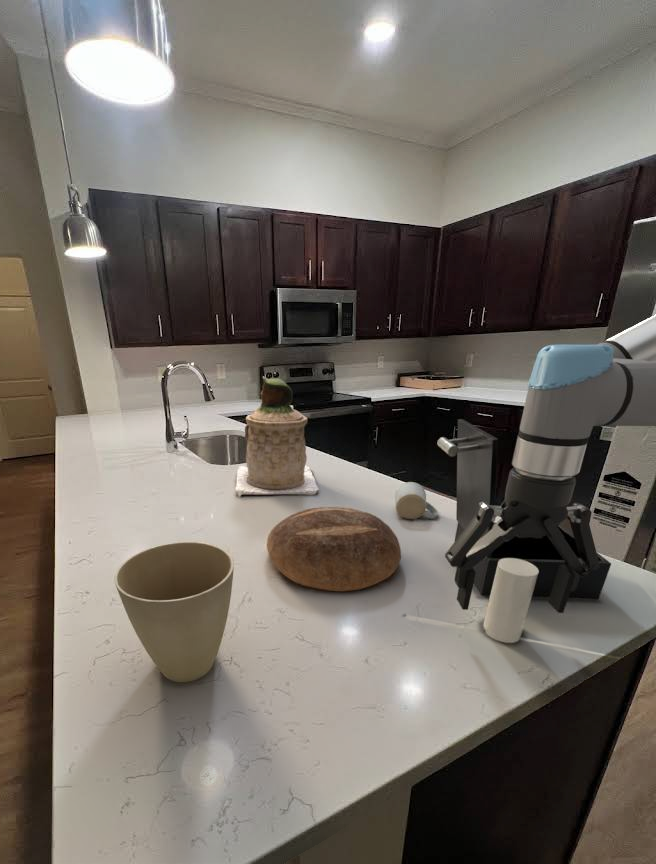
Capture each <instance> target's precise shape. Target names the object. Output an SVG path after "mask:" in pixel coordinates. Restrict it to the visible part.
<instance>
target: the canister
mask: <svg viewBox="0 0 656 864" xmlns="http://www.w3.org/2000/svg"><path fill="white" fill-rule="evenodd" d="M538 573H539V570H538V568H537V567H536V566H534V565H533V564H531V563H529V562H527V561H524V560H521V559H516V558H503V559H501V560H499V561H498V564H497V569H496V573H495V577H494V581H493V586H492V590H491V594H490V596H489V600H488V604H487V607H486V611H485V616H484V620H483V623H482V624H483V625H482V626H483V632H484V633H485V634H486V635H487V636H488V637H490V638H492V639H493V640H496V641H498V642H501V643H506V644H513V643H514V644H515V643H517V642H519V641H520V639H521V637H522V633H523V629H524V626H525V622H526V620H527V619H526V618H527V615H528V611H529V608H530V606H531V601H532V598H533V597H532V595H533V591H534V587H535V584H536V580H537V577H538Z"/></svg>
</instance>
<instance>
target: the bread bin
mask: <svg viewBox="0 0 656 864" xmlns="http://www.w3.org/2000/svg"><path fill="white" fill-rule="evenodd" d="M495 523H497V521H496V522H495V521H494V524H495ZM557 527H558V528H559V530H560V531H561V533H562V534H563V536H564V539H565V540H566V541H567V543H568V544H569V546H570V547H571V549H572V550H573V552H574V553H575V555H576V556H577V558H580V557H579V554H578V550H577V546H576V543H575V539H574V535H573V532H572V531H569V529H567V528H565V527H564V526H562V525H561V523H560V524H559V525H558V526H557ZM463 530H464V529H463V527H462V526H461V525H460V524H459V522H458V521H457V525H456V531H455V536H454V542H455V541H456V540H457V538H458V537H459V536H460V534H461V533H462V532H463ZM507 530H508V528H507V527H505V528H504V531H507ZM454 542H453V543H454ZM597 556H598V560H599V564H600V567H599V568H598V569H597V570H591V569H588V570H587V571H588V575H586V576H585V577H581V576H580V578H579V581H578V584H577V587H576V589H575V590H574V591H570V594H569V597H568V599H580V600H581V599H583V600H584V599H585V600H599V599H600V596H601V594H602V591H603V589H604V585H605V583H606V580H607V577H608V574H609V571H610V568H611V566H612V563H611V562H610V561H609V560H607V559H606V558H605V557H603V555H601V554H600V553H598V552H597ZM503 558H516V559H521V560H524V561H527V562H529V563H531V564H533V565H534V566H536V567H537V568H538V570H539V573H538V577H537V580H536V584H535V587H534V591H533V595H532V598H546V599H547V598H548V599H549V597H550V594H551V591H552V587H553V584H554V581H555V578H556V574H557V571H558V568H559V565H565V566H566V567H567V564H566V563H565V561H564V560H563V558H562V557H561V555H560V554H559V553H558V551H557V550H556V548H555V547H554V545H553V544H552V542H551V541H550V540H549V538H548V537H547V535H546V536H543V537H542V538H533V537H527V538H518V537H517V536H515V537H514V538H513V539H511V540H510V541H506V542H504V543H503V544H501V545H500V546H499V547H498V548H496V549H495V550H494V551H493V552H492V558H487V557H485V558H484V559H483V560H481V561H480V562H479V563H478V564H476V565H475V566H474V567H473V569H474V571H475V572H476V574H475V578H474V583H473V586H474V587H475V589H476V590H477V591H478V593H479V595H480V596H486V597H487V596H489V597H490V594H491V590H492V586H493V581H494V577H495V573H496V569H497V564H498V561H499V560H501V559H503Z"/></svg>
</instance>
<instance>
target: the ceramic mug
mask: <svg viewBox="0 0 656 864" xmlns="http://www.w3.org/2000/svg"><path fill="white" fill-rule="evenodd" d="M394 502H395V510H396V512H397V514H398V515H399V516H400V517H401V518H403V519H406V520H414V519H415V520H417V519H419V518H421V517H422V516H423V517H425V518H427V519H429V520H434V519H436V518H437V517H438V515H439V511H438V509H437V508H436V507H435V506H434V505H432V504H431V503H429V502H428V501H427V494H426V490H425V488H424V487H423V486H422V485H421V484H419V483H417V482H415V481H414V482H413V481H408V482H407V481H406V482H403V483H401V484H400V485H399V486H398V487H397V489H396V490H395V493H394Z"/></svg>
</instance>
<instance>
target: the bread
mask: <svg viewBox="0 0 656 864" xmlns="http://www.w3.org/2000/svg"><path fill="white" fill-rule="evenodd" d="M266 549H267V553H268V556H269V559H270V561H271V563H272V565H273V567H275V568H276V569H277V570H278V571H279V572H280V573H281V574H282V575H284V576H285V577H286V578H287V579H288V580H290V581H292V582H294V583H296V584H298V585H301V586H304V587H308V588H312V589H318V590H323V591H331V592H349V591H358V590H361V589H366V588H368V587H372V586H374V585H376V584H379V583H381V582H383V581H384V580H386V579H388V578H389V577H391V576H392V574H394V573H395V572H396V570H397V568H398V566H399V564H400V561H401V559H402V554H401V553H402V552H401V551H402V550H401V544H400V542H399V539H398V537H397V535H396V534H395V532H394V531H393V530H392V528H391V527H390V525H388V524H387V523H386V522H384V521H383V520H382V519H381V518H379V517H377V516H376V515H374V514H372V513H370V512H366V511H364V510H359V509H356V508H355V509H354V508H349V507H338V506H337V507H335V506H325V507H321V506H320V507H314V508H308V509H304V510H300V511H298V512H296V513H293V514H291V515H289V516H287V517H286V518H283V519H282V520H281V521H279V522H278V523H277V524H276V525H275V526H274V527H272V528H271V530H270V532H269V534H268V536H267V539H266Z"/></svg>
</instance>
